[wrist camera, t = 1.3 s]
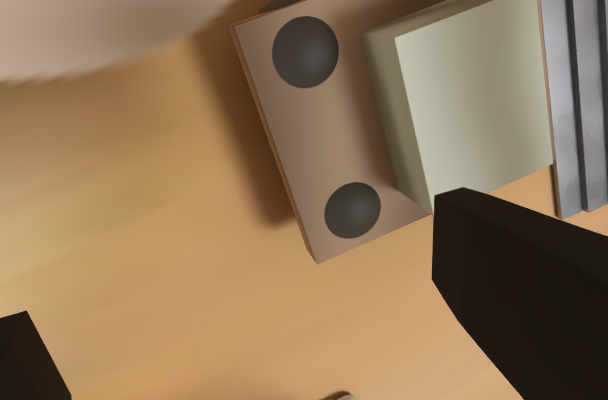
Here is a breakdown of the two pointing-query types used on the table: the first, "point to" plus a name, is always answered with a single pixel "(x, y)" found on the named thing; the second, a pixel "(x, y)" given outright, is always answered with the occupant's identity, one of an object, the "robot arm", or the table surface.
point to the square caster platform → (395, 106)
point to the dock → (578, 101)
